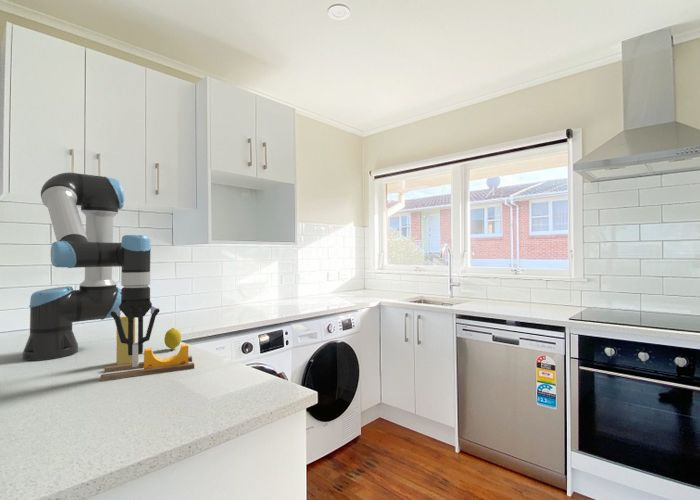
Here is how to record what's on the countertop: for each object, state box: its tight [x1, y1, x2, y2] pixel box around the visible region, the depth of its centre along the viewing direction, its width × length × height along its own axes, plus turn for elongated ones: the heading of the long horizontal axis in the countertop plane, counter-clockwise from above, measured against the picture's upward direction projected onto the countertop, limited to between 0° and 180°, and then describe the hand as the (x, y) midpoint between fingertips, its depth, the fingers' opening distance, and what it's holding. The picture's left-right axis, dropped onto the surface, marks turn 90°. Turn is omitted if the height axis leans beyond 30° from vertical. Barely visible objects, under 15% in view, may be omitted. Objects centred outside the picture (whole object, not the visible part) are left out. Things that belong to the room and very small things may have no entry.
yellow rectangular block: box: [115, 315, 137, 365], centre depth 119 cm, size 4×5×15 cm
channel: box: [99, 355, 195, 382], centre depth 112 cm, size 10×24×1 cm, turn 118°
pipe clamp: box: [143, 343, 189, 369], centre depth 113 cm, size 12×4×6 cm, turn 118°
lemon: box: [164, 327, 182, 351], centre depth 135 cm, size 6×6×8 cm
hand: (135, 365), depth 110 cm, fingers closed
